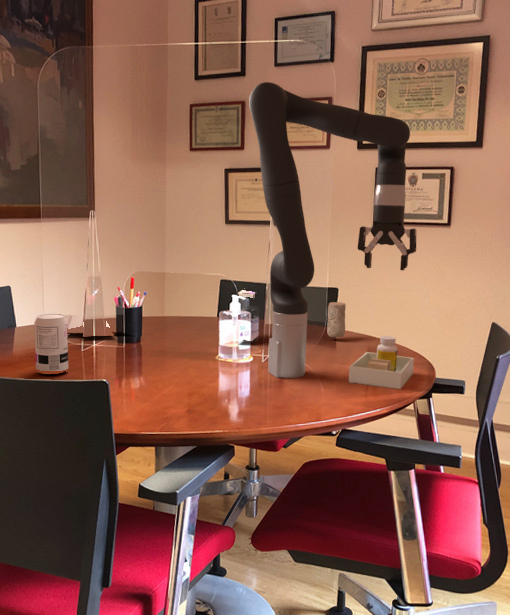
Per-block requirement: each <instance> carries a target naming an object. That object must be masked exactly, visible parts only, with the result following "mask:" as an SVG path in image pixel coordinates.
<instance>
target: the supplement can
mask: <svg viewBox="0 0 510 615" xmlns="http://www.w3.org/2000/svg"><path fill="white" fill-rule="evenodd" d="M33 324H34V343H35V344H34V348H35V349H34V350H35V352H34V353H35V370H36V369H37V370H40V371H63V370H66V369H68V370H69V344H68V342H69V340H68V336H69V334H67V320H66V318H65V315H62V314H57V313H44V314H40V315H37V316H36V319H35V321H34V323H33ZM66 371H67V370H66Z"/></svg>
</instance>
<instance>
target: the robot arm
mask: <svg viewBox="0 0 510 615" xmlns="http://www.w3.org/2000/svg"><path fill="white" fill-rule="evenodd" d="M248 99H249V100H248V105H249V106H248V107H249V108H248V109H249V111H250V114H251V119H252V122H253V125H254V129H255V133H256V137H257V143H258V149H259V161H260V162H259V164H260V172H261V180H262V181H261V182H262V190H263V194H264V201H265V204H266V209H267V210H268V213H269V215H270V217H271V219H272V221H273V223H274V225H275V227H276V229H277V233H278V234H279V238H280V241H281V247H282V251H280V252H278V253H277V254H276V255H275V256H274V257H273V259H272V261H271V265H270V272H269V274H270V275H269V279H270V281H269V283H270V284H269V285H270V286H269V287H270V289H269V290H270V300H271V304H272V330H271V334H272V335H271V337H270V338H269V341H268V367H267V371H268V373H270V375H272V376H274V377H275V378H277V379H278V378H282V379H283V378H284V379H294V378H295V379H296V378H301V377H304V376H305V375H306V354H307V328H308V306H309V305H308V301H307V299H306V298H305V297H304V295H303V292H302V289H303V288H306V287H307V286H308V285H310V284H311V283H312V280H313V278H314V275H315V263H314V258H313V254H312V250H311V246H310V243H309V238H308V234H307V230H306V229H307V228H306V224H305V223H306V222H305V214H304V210H303V209H304V208H303V203H302V202H303V201H302V193H301V186H300V180H299V179H300V178H299V175H298V170H297V166H296V161H295V158H294V156H293V153H292V150H291V146H290V142H289V137H288V127H287V123H290V124H291V123H292V124H296V125H302V126H306V127H309V128H312V129H316V130H318V131H321V132H323V133H327V134H330V135H333V136H337V137H338V138H339V137H340V138H343V139H347V140H351V141H355V142H366V143H367V142H368V143H370V144H374V145H377V160H378V161H377V170H376V179H375V180H376V184H375V190H374V197H373V216H372V225H371V227H369V226H361V227H359V234H358V241H357V251H361V252H363V253H364V260H363V261H364V266H366V269H372V260H373V256H372V255H373V253H372V251H373V250H374V249H375V247H376V246H378V244H379V245H381V246H383V245H387V246H394V245H395V247H397V248H396V249H398V250H399V252H400V253H401V254H402V255H401V256H400V268H399V269H400V271H405V270H406V269H407V268H408V266H409V265H408V263H409V256H410V254H414V253H416V252H417V229H416V228H415V227H414V228H405V226H404V225H405V211H406V210H405V209H406V179H407V178H406V176H407V166H406V162H405V160H406V148H407V143H408V141H409V140H410V136H411V131H410V130H411V129H410V127H409V126H408V124H407V123H406V122H405V121H404V120H402V119H400V118H396V117H392V116H387V115H380V114H372V113H368V112H365V111H363V110H358V109H355V108H351V107H346V106H342V105H337V104H332V103H325V102H321V101H320V102H319V101H316V100H312V99H309V98H305V97H302V96H299V95H298V94H295V93H292V92H290V91H288V90H286V89H284V88H283V86H280V85H279V84H276V83H274V82H270V81H266V82H264V81H263V82H261V83H259V84H257V85H256V86H255V87H254V88H253V89H252V91H251V93H250V95H249V98H248ZM370 233H371V235H372V237H373V238H372V240H371V241H370V242H369V244H368V245H367V246H366V239H367V238H366V237H367V236H368V235H369V234H370ZM405 234H406V238H408V239H409V248H407V247H406V244H405V242H404V241H403V240H402V238H403V236H404V235H405Z"/></svg>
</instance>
